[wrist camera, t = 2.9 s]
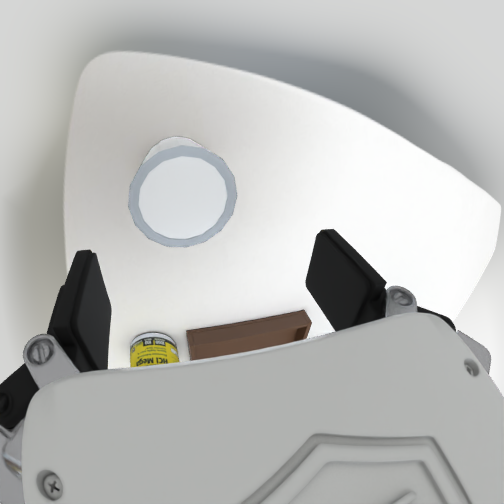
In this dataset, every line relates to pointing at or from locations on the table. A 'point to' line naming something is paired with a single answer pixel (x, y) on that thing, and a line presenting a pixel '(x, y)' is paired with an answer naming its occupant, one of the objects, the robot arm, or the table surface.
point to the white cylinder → (182, 193)
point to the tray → (248, 335)
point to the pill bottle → (153, 350)
